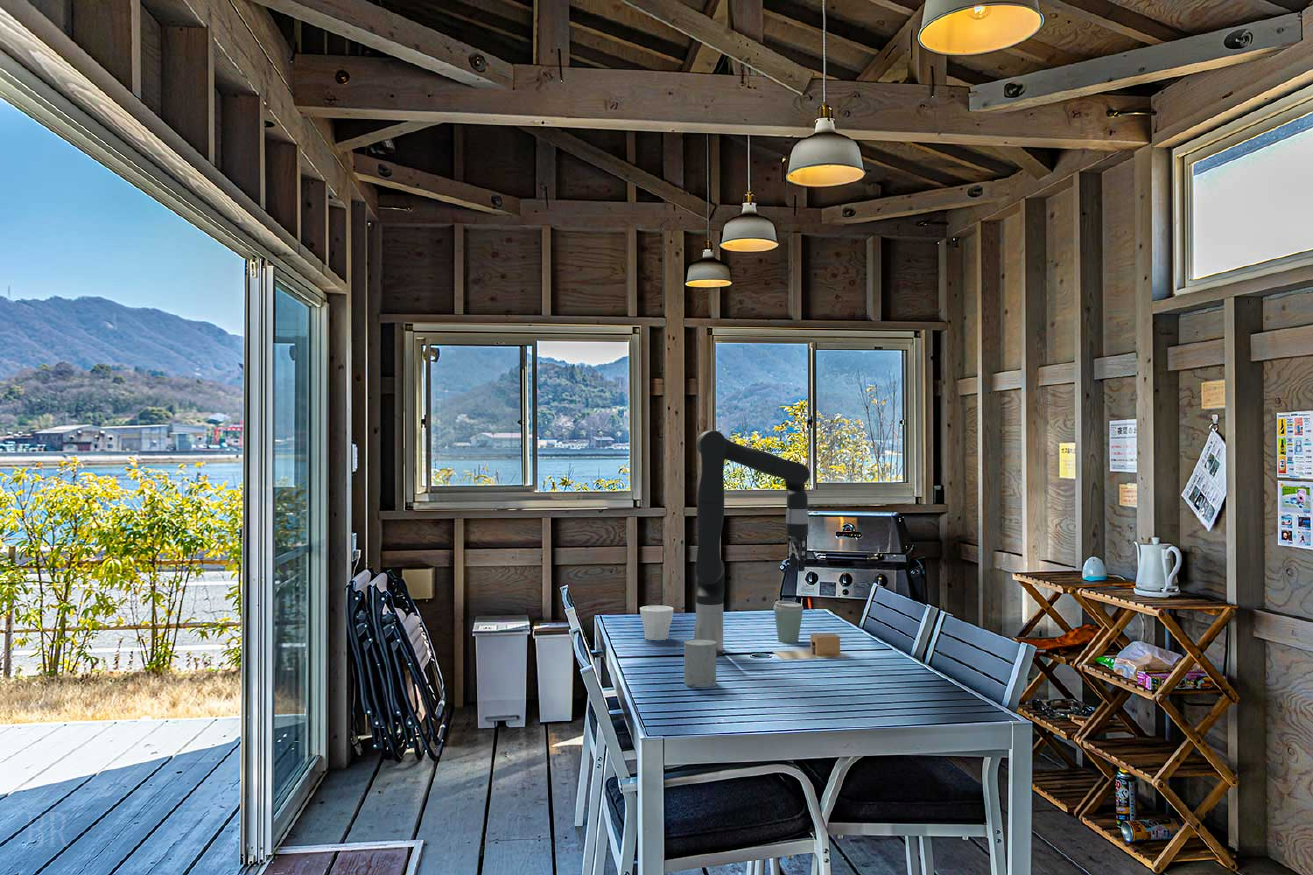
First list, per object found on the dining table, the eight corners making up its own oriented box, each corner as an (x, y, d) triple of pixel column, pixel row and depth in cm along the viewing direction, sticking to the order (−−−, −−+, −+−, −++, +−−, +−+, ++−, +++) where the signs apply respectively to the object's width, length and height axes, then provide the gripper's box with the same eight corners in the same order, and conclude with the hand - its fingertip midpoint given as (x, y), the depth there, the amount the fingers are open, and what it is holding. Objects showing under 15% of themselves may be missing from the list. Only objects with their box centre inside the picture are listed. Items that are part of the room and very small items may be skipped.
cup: (680, 637, 345) (680, 607, 345) (661, 643, 334) (662, 612, 334) (651, 633, 351) (651, 604, 351) (632, 639, 341) (632, 608, 341)
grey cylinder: (694, 689, 272) (694, 646, 272) (678, 681, 280) (678, 640, 280) (722, 685, 276) (722, 643, 276) (705, 678, 284) (706, 637, 285)
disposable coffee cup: (802, 642, 338) (802, 600, 338) (804, 648, 327) (804, 605, 327) (772, 641, 339) (772, 599, 339) (773, 647, 328) (773, 604, 328)
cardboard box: (833, 651, 316) (833, 633, 316) (840, 655, 310) (840, 636, 310) (810, 652, 314) (810, 633, 315) (816, 655, 309) (816, 637, 309)
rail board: (783, 663, 303) (783, 651, 303) (771, 655, 315) (772, 643, 315) (847, 661, 307) (847, 649, 307) (834, 653, 319) (834, 641, 319)
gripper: (814, 523, 315) (814, 572, 315) (800, 520, 329) (800, 566, 329) (793, 523, 314) (793, 572, 314) (780, 520, 328) (779, 567, 328)
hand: (796, 569), depth 321 cm, fingers open, 8 cm apart
